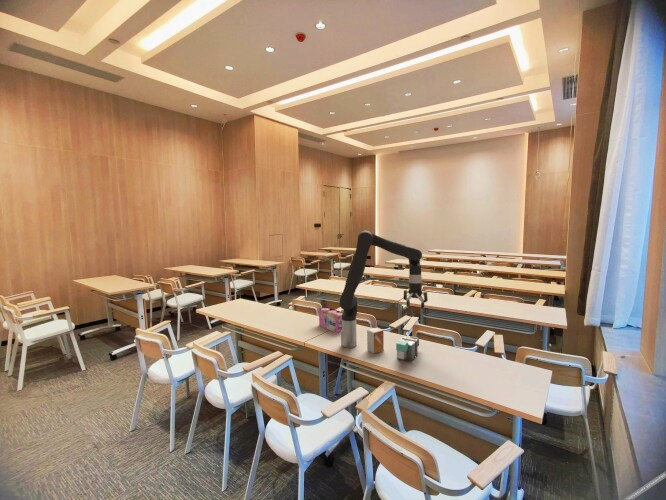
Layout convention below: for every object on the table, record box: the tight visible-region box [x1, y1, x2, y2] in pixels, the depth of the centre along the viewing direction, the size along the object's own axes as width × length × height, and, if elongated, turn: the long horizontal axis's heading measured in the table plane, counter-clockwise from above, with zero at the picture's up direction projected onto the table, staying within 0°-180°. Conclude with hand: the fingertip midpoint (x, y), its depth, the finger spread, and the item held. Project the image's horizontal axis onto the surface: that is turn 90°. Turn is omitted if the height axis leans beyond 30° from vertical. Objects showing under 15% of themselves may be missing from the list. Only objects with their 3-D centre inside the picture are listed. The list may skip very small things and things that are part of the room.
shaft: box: [396, 335, 420, 360], centre depth 179 cm, size 5×24×5 cm, turn 146°
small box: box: [366, 327, 385, 354], centre depth 188 cm, size 8×6×13 cm
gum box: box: [318, 306, 344, 334], centre depth 231 cm, size 24×8×14 cm, turn 36°
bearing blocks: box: [396, 336, 419, 363], centre depth 178 cm, size 9×10×10 cm
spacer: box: [395, 340, 408, 352], centre depth 171 cm, size 5×5×4 cm
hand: (415, 307), depth 188 cm, fingers open, 8 cm apart
